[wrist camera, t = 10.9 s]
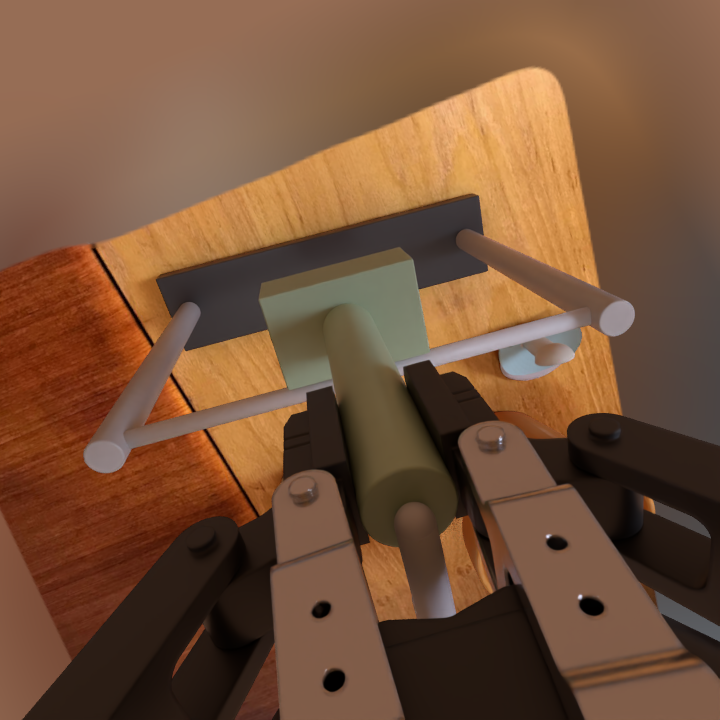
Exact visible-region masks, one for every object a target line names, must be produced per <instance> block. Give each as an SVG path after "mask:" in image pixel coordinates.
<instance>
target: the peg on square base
mask: <svg viewBox="0 0 720 720" xmlns="http://www.w3.org/2000/svg"><path fill="white" fill-rule="evenodd" d="M258 301H259V304H260V307H261V310H262V313H263V316H264V319H265V322H266V325H267V328H268V331H269V334H270V337H271V340H272V343H273V346H274V349H275V352H276V355H277V358H278V361H279V364H280V367H281V370H282V373H283V376H284V379H285V382H286V385H287V388H288V390H293V389H297V388H300V387H304V386H308V385H311V384H315V383H319V382H323V381H326V380H330V379H333V385H334V390H335V395H336V400H337V404H338V407H339V412H340V417H341V422H342V427H343V432H344V437H345V443H346V448H347V453H348V458H349V463H350V468H351V473H352V478H353V483H354V488H355V493H356V501H357V506H358V511H359V516H360V521H361V524H362V526H363V528H364V529H365V531H366V532H367V533H368V534H369V535H370V536H371V537H372V538H373V539H375V540H376V541H378V542H380V543H382V544H385V545H388V546H392V547H399V548H400V552H401V556H402V559H403V563H404V567H405V571H406V575H407V578H408V582H409V586H410V590H411V594H412V602H413V606H414V609H415V613H416V616H417V619H427V618H446V617H450V616H453V615H455V614H456V611H455V606H454V601H453V597H452V592H451V587H450V583H449V578H448V573H447V568H446V564H445V559H444V554H443V550H442V545H441V540H440V536H439V535H440V534H441V533H442V532H443V531H445V530H446V529H447V527H448V526H449V525H450V524H451V522H452V521H453V519H454V517H455V515H456V512H457V509H458V502H459V496H458V491H457V488H456V486H455V483H454V481H453V479H452V477H451V475H450V473H449V471H448V469H447V468H446V466H445V464H444V462H443V460H442V458H441V456H440V454H439V452H438V450H437V448H436V446H435V444H434V442H433V440H432V437H431V435H430V433H429V431H428V429H427V427H426V425H425V423H424V421H423V419H422V417H421V415H420V413H419V411H418V409H417V407H416V405H415V403H414V401H413V399H412V397H411V395H410V393H409V391H408V389H407V387H406V385H405V383H404V381H403V379H402V377H401V375H400V373H399V371H398V369H397V367H396V365H395V363H394V362H397V361H401V360H404V359H408V358H412V357H415V356H419V355H423V354H427V353H429V352H430V349H429V343H428V338H427V332H426V327H425V322H424V316H423V311H422V305H421V300H420V295H419V289H418V284H417V278H416V273H415V267H414V262H413V259H412V258H411V257H410V256H409V255H408V254H407V253H405V252H404V251H403V250H402V249H401V248H400V247H398V248H394V249H390V250H386V251H382V252H379V253H375V254H371V255H367V256H363V257H360V258H356V259H352V260H348V261H344V262H340V263H337V264H333V265H329V266H325V267H321V268H318V269H314V270H310V271H306V272H302V273H298V274H295V275H291V276H287V277H283V278H279V279H276V280H272V281H268V282H264V283H262V284H261V289H260V294H259V300H258Z"/></svg>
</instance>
